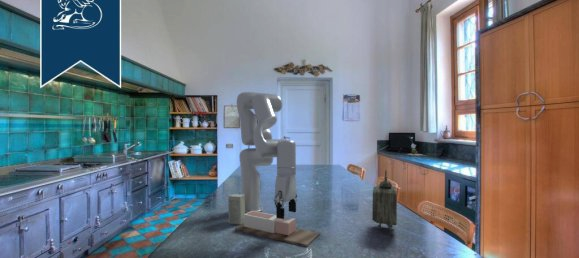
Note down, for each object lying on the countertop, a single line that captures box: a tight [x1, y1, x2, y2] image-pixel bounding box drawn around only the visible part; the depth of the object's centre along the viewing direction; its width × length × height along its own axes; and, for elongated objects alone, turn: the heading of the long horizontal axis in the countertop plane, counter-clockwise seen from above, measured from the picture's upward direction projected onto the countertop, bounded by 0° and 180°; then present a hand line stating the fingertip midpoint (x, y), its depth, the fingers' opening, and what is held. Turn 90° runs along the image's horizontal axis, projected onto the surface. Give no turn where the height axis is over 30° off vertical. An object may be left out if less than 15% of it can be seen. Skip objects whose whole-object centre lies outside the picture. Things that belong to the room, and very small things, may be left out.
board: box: [235, 223, 321, 248], centre depth 108 cm, size 32×12×1 cm, turn 62°
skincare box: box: [227, 193, 245, 226], centre depth 119 cm, size 6×4×12 cm
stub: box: [275, 216, 297, 236], centre depth 106 cm, size 6×6×5 cm
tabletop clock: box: [371, 169, 398, 236], centre depth 112 cm, size 14×9×25 cm, turn 160°
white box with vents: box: [243, 211, 279, 233], centre depth 111 cm, size 15×6×5 cm, turn 62°
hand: (286, 214), depth 105 cm, fingers open, 9 cm apart
